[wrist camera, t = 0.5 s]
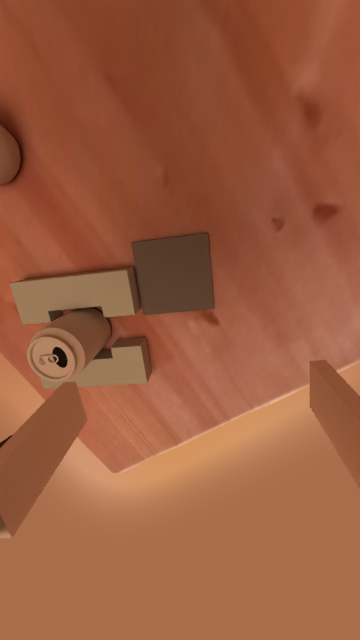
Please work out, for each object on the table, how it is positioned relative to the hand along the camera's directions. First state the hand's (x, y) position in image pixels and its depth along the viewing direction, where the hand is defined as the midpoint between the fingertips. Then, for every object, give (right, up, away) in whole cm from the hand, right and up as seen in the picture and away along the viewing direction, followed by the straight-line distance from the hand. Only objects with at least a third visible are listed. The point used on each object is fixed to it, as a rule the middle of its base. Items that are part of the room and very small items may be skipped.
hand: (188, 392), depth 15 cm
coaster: (-1, +11, +25) cm, 27 cm away
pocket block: (-15, +3, +29) cm, 33 cm away
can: (-15, +3, +29) cm, 33 cm away
